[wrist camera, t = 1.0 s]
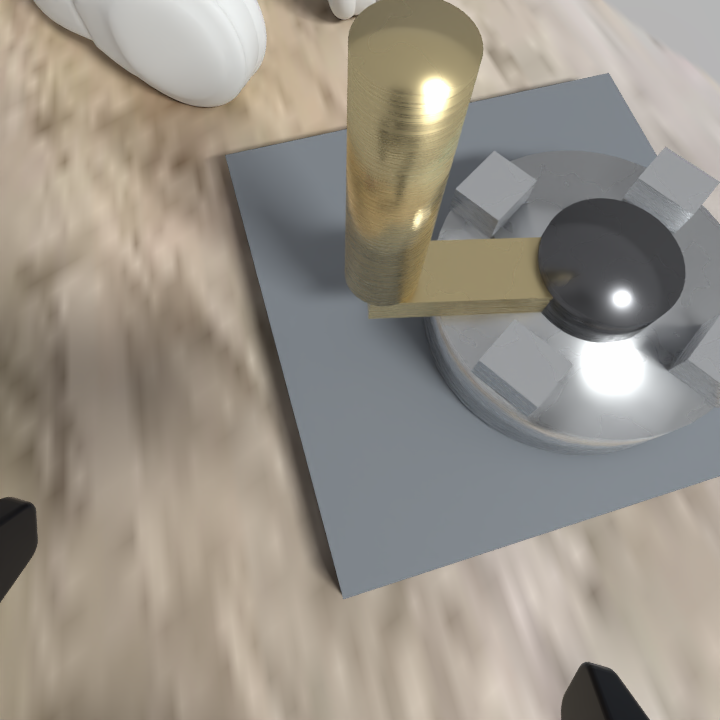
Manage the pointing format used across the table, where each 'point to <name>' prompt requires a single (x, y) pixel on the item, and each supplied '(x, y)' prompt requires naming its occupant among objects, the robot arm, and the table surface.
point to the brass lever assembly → (526, 252)
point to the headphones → (180, 40)
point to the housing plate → (429, 364)
